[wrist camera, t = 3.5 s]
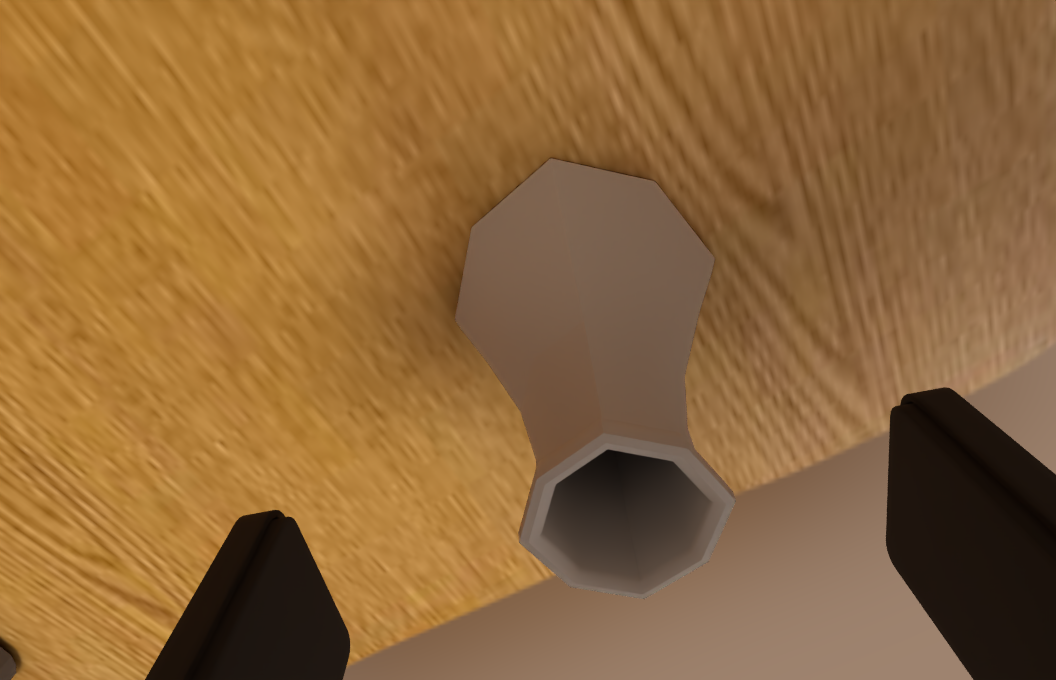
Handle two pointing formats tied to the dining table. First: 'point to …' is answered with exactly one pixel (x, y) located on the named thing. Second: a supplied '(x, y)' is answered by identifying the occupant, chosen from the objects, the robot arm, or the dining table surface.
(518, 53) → the dining table surface
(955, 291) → the dining table surface
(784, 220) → the dining table surface
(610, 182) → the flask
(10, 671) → the smartphone
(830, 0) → the dining table surface
